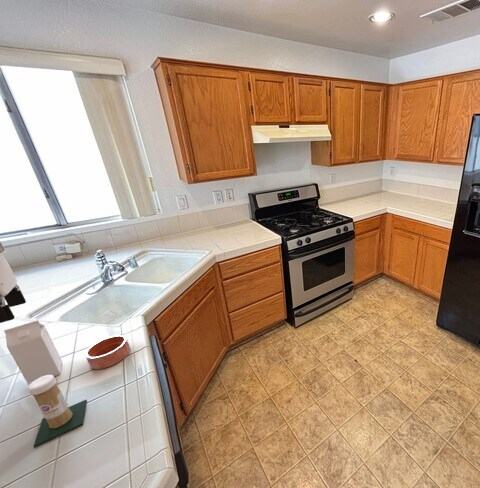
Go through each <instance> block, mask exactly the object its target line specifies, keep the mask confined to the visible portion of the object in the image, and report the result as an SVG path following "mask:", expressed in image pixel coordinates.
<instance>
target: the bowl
mask: <svg viewBox="0 0 480 488" xmlns="http://www.w3.org/2000/svg"><path fill="white" fill-rule="evenodd" d="M130 352H131V346H130V343H129V340H128V338H127V337H126V336H125V335H123V334H119V335H118V334H115V335H112V336H108V337H105V338H103V339H100V340H99V341H97V342H95V343H94V344H92V345H91V346H89V347H88V348H87V350H86V351H85V353H84V357H85V359H86V361H87V363H88V365H89V367H90V368H91V369H92V370H101V369H102V370H103V369H105V368H109V367H112V366H114V365H116V364H117V363H120V362H121V361H122V360H124V359H125V358H126V357H127V356H128V355H129V354H130Z"/></svg>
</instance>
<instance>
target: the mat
mask: <svg viewBox="0 0 480 488" xmlns="http://www.w3.org/2000/svg"><path fill="white" fill-rule="evenodd" d="M87 402H88V400H87V399H84V400H82V401H78V402H77V403H75V404H72V405H69V406H68V407H69V409H70V411H71V412H72V413H73V415H72V417H71V419H70V420H69V421H68V422H67V423H66V424H64V425H62V426H60V427H58V428H50V427H49V424H48V422H47V420H46V419H45V418H44V417H43V418H42V419H41V422H40V424H39V428H38V431H37V434H36V437H35V440H34V444H33V448H34V449H35V448H38V447H40V446H42V445H44V444H46V443H48V442H50V441H52V440H55V439H57V438H59V437H61V436H63V435H65V434H66V433H70V432H71V431H74V430H75V429H78V428H80V427H82V426H84V422H85V415H86V410H87Z"/></svg>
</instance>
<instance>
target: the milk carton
mask: <svg viewBox="0 0 480 488" xmlns="http://www.w3.org/2000/svg"><path fill="white" fill-rule="evenodd" d="M3 332H4V334H5V344H6V348H7V350H8V351H9V353H10V355H11V357H12V359H13V361H14V362H15V364H16V367H17V368H18V370H19V371H20V373H21V374H22V376H23V378H24V380H25V381H26V384H27V385H28V386H29V385H30V384H31V383H32V382H33V381H35V380H36V379H38V378H40V377H43V376H46V375H53V376H54V377H57V376H59V375H61V372H62V366H63V359H62V358H61V356H60V354H59V352H58V350H57V348H56V346H55V344H54V341H53V340H52V338H51V336H50V333H49V332H48V330H47V327H46V325H44V324H42V323H40V321H39V319H36V320H34V321H30V322H26V323H23V324H20V325H17V326H13V327H10V328H7V329H4V330H3Z"/></svg>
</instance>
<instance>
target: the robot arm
mask: <svg viewBox="0 0 480 488" xmlns="http://www.w3.org/2000/svg"><path fill="white" fill-rule="evenodd" d="M6 253H7V251H6V249H5V247H4V246H3V243H2V241H1V240H0V324H2V323H6V322H9V321H13V320H15V318H16V317H15V315H14V313H13V311H12V309H11V308H13V307H16V306H20V305H24V304H26V303H27V300H26V298H25V296H24V294H23V292H22V290H21V288H20V286H19V285H18V281H17V277H16V275H15V273H14V271H13V269H12V267H11V266H10V264H9V262H8V260H7V259H6V258H5V255H4V254H6Z"/></svg>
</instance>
